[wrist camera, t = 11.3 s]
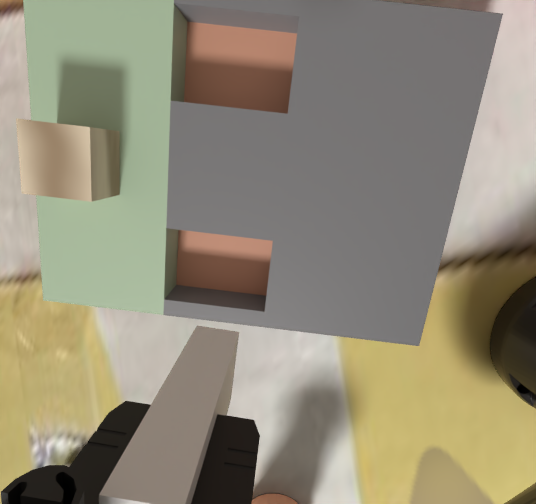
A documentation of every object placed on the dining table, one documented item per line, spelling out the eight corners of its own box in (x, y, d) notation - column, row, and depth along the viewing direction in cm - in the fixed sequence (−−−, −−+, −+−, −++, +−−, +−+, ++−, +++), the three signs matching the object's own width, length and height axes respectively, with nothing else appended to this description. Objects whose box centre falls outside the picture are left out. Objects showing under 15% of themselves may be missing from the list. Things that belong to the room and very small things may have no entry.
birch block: (119, 131, 28) (89, 127, 24) (119, 194, 29) (91, 201, 25) (56, 123, 28) (16, 118, 24) (59, 187, 29) (21, 193, 25)
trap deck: (473, 32, 28) (502, 13, 25) (404, 325, 35) (418, 345, 32) (55, -13, 29) (20, -38, 25) (69, 284, 36) (43, 300, 32)
